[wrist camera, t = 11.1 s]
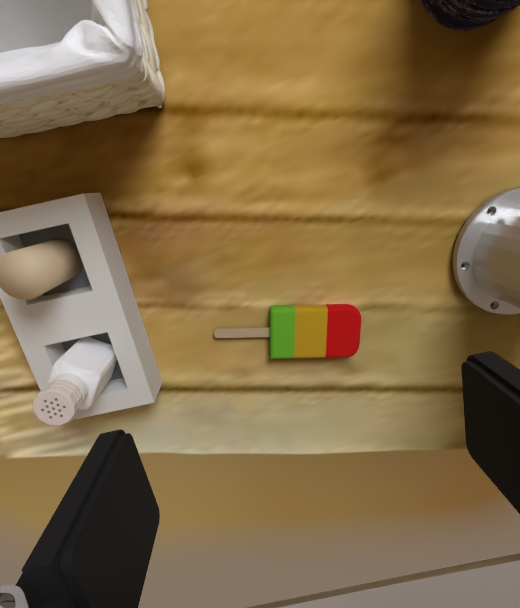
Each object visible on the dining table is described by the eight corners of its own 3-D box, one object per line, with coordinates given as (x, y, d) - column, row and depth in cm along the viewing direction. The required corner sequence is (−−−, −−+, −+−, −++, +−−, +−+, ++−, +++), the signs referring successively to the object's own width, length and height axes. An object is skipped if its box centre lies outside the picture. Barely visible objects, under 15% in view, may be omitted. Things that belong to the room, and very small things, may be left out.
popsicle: (354, 351, 42) (359, 358, 40) (215, 354, 41) (214, 362, 39) (358, 302, 40) (363, 307, 38) (213, 305, 39) (212, 310, 38)
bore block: (100, 192, 35) (60, 194, 28) (162, 382, 41) (143, 428, 33) (-5, 216, 35) (-74, 224, 28) (72, 401, 41) (33, 451, 34)
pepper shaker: (111, 379, 40) (72, 437, 30) (72, 366, 39) (21, 421, 30) (122, 346, 39) (86, 395, 29) (83, 332, 38) (33, 378, 29)
